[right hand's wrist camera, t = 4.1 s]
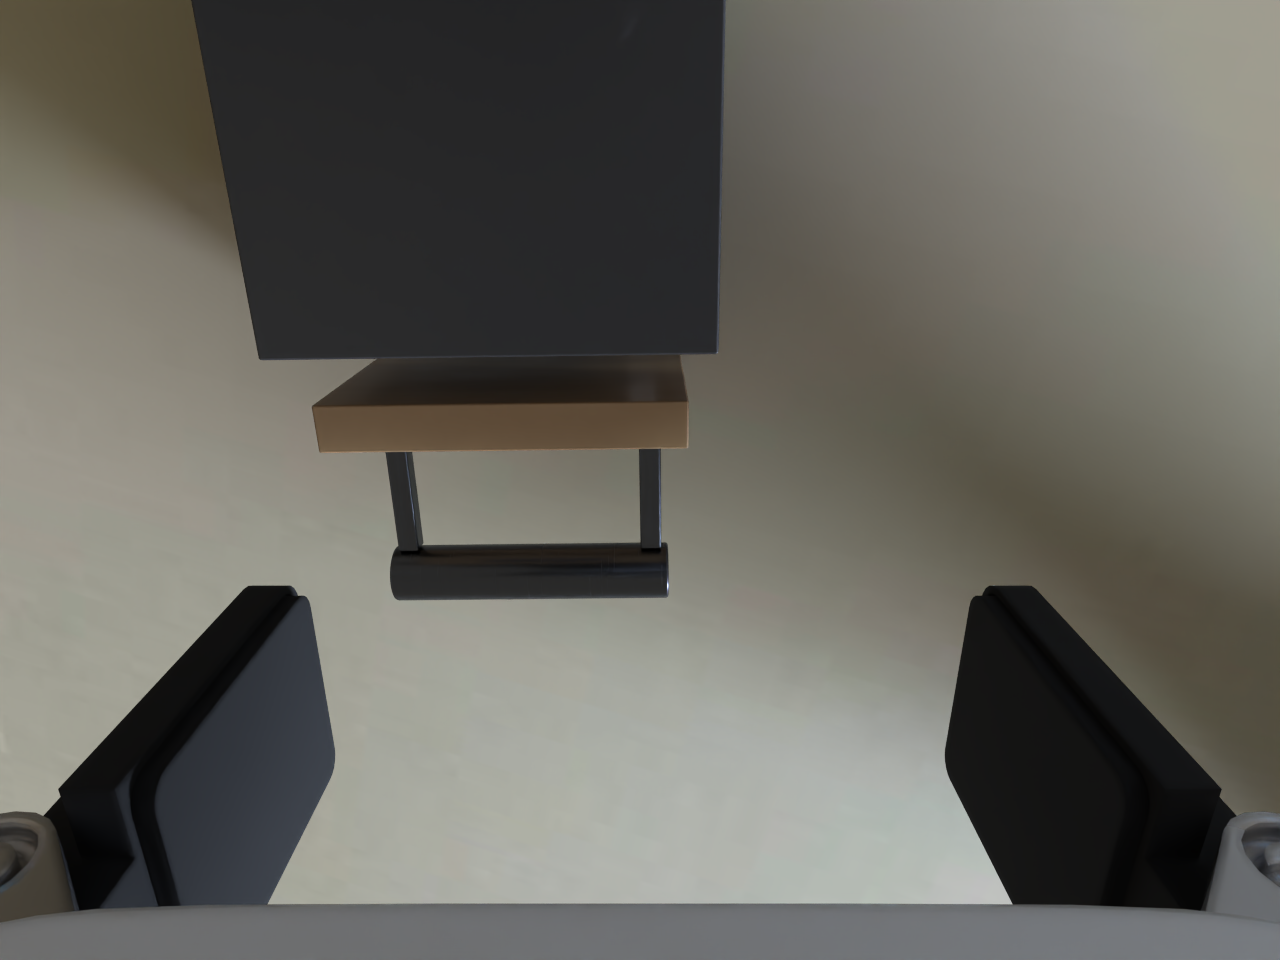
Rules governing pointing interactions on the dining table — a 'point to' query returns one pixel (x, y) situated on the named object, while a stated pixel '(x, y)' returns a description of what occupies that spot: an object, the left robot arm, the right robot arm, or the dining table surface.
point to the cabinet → (472, 174)
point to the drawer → (515, 420)
